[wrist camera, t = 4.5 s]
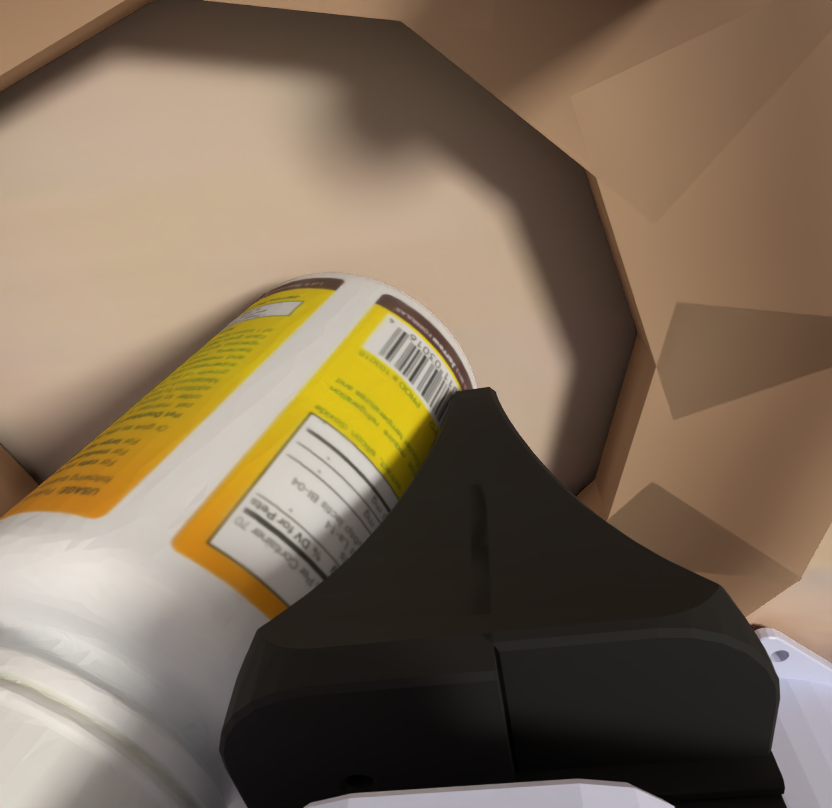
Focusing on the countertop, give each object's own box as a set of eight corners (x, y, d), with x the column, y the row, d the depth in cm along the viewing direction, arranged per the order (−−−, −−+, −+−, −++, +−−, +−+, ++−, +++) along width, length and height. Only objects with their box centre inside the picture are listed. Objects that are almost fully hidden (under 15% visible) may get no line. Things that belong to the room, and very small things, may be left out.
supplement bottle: (241, 420, 17) (-165, 850, 9) (268, 217, 14) (-345, 629, 6) (446, 516, 16) (201, 1062, 9) (529, 329, 13) (247, 960, 5)
